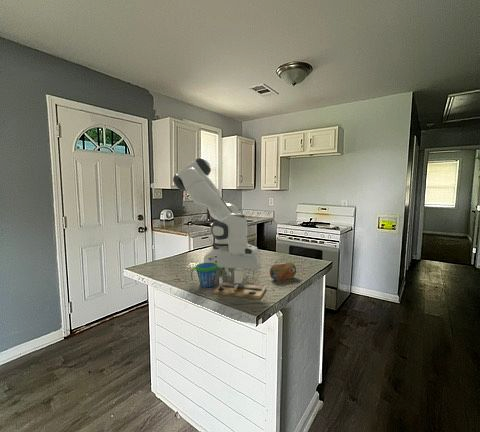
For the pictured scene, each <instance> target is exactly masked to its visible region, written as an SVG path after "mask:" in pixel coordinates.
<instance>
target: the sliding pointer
mask: <svg viewBox="0 0 480 432" xmlns="http://www.w3.org/2000/svg"><path fill="white" fill-rule="evenodd" d="M243 271H244V269H237V268H234V271H233V272H234V277H233V278H234V281H233V282H232V283H233V287H234V291H237V287H242V286H243V285H245V281H244V280H243V278H244V277H243Z"/></svg>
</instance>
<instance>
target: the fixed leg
mask: <svg viewBox="0 0 480 432" xmlns="http://www.w3.org/2000/svg"><path fill="white" fill-rule="evenodd" d="M223 277H224V276H223ZM223 277H221V276H219V277H218V286H219V290H223V282H224V280H223V279H224V278H223Z"/></svg>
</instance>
